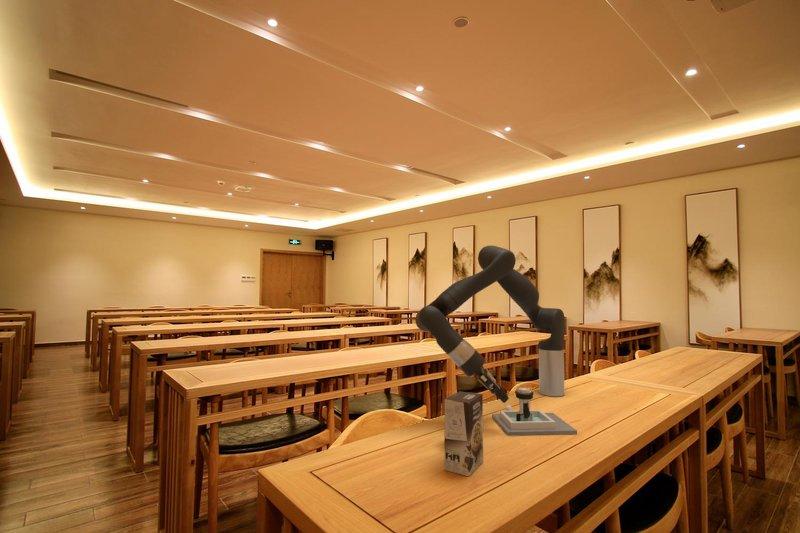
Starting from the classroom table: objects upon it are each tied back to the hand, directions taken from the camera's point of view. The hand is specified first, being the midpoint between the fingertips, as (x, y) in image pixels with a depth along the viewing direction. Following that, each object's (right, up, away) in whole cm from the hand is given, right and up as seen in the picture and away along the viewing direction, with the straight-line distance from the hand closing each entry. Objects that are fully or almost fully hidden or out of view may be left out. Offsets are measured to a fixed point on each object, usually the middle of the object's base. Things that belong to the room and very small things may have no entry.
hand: (504, 396), depth 119 cm
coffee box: (-16, -8, -27) cm, 32 cm away
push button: (+6, -8, -1) cm, 10 cm away
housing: (+8, -9, 0) cm, 12 cm away
